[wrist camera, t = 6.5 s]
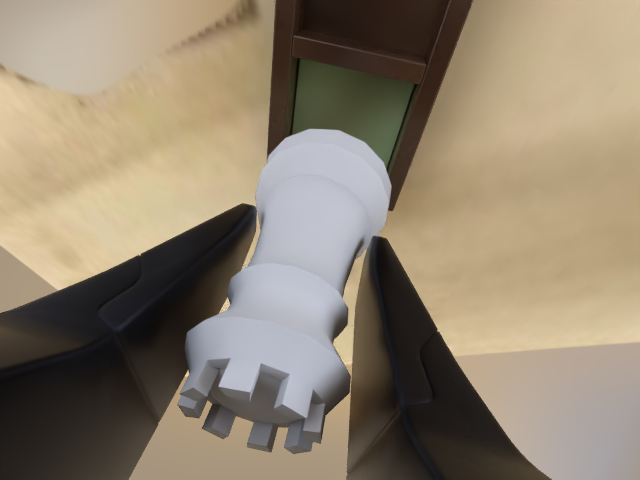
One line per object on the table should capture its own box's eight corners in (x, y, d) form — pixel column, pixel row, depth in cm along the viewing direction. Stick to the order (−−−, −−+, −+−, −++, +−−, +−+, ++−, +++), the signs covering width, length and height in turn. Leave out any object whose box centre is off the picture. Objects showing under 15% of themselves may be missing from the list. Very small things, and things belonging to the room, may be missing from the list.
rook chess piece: (414, 207, 11) (431, 474, 5) (313, 248, 14) (245, 473, 8) (347, 92, 9) (255, 316, 3) (241, 163, 12) (72, 375, 6)
